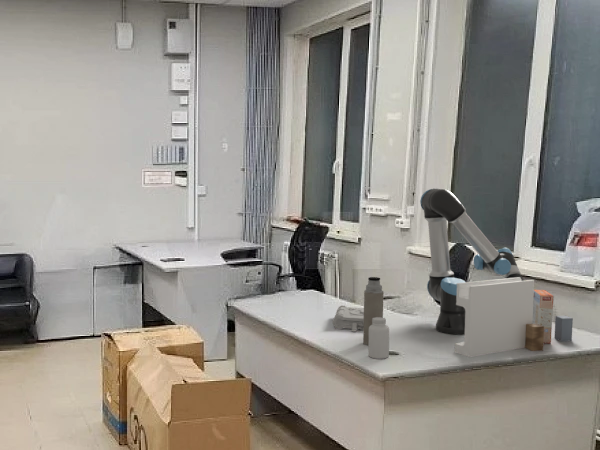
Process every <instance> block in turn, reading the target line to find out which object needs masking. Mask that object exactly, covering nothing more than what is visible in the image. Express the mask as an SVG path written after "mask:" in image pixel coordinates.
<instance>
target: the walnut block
mask: <svg viewBox="0 0 600 450" xmlns="http://www.w3.org/2000/svg"><path fill="white" fill-rule="evenodd" d="M543 340H544V326H542V325H539V324H526V340H525V349H526V350H529V351H531V352H543V351H544V343H543Z"/></svg>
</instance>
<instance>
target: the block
mask: <svg viewBox="0 0 600 450" xmlns="http://www.w3.org/2000/svg"><path fill="white" fill-rule="evenodd" d="M534 290H535V279H527V280H523V281H522V279H521V278H520V277H516V278H506V279H505V278H499V279H498V278H497V279H486V280H477V281H467V282H466V281H465V283H457V296H456V301H457V302H456V305H459V306H462V307H464V308H465V334H464V339H463V341H461V342H456V343H454V353H456V354H459V355H461V356H464V357H467V358H472V357H478V356H484V355H490V354H494V353H495V354H497V353H501V352H508V351H513V350H518V349H524V348H525V340H526V324H532V319H533V297H534ZM525 349H526V348H525Z"/></svg>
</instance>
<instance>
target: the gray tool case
mask: <svg viewBox="0 0 600 450" xmlns="http://www.w3.org/2000/svg"><path fill="white" fill-rule="evenodd" d="M332 325H333V327H334V328H335V329H339V330H342V329H349V330H350V329H351V332H353V333H356V332H357V330H361V331H363V328H364V307H348V306H346V305H340V306H338V308H337V310H336V312H335V315H334V318H333V319H332Z"/></svg>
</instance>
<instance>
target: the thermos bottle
mask: <svg viewBox="0 0 600 450" xmlns="http://www.w3.org/2000/svg"><path fill="white" fill-rule="evenodd" d="M380 280H381V278H380V277H377V276H371V277H368V281H367V283H368V284H366V285H365V289H364V292H363V295H364V297H363V299H364V300H363V308H364V328H363V330H362V331H363V333H362V335H363V337H362V339H363V340H362V342H363V345H365V346H368V347H369V327H370V326H371V325H373V324H372V318H375V317H382V318H384V295H385V294H384V293H385V292H384V290H383V285H381V281H380Z"/></svg>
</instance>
